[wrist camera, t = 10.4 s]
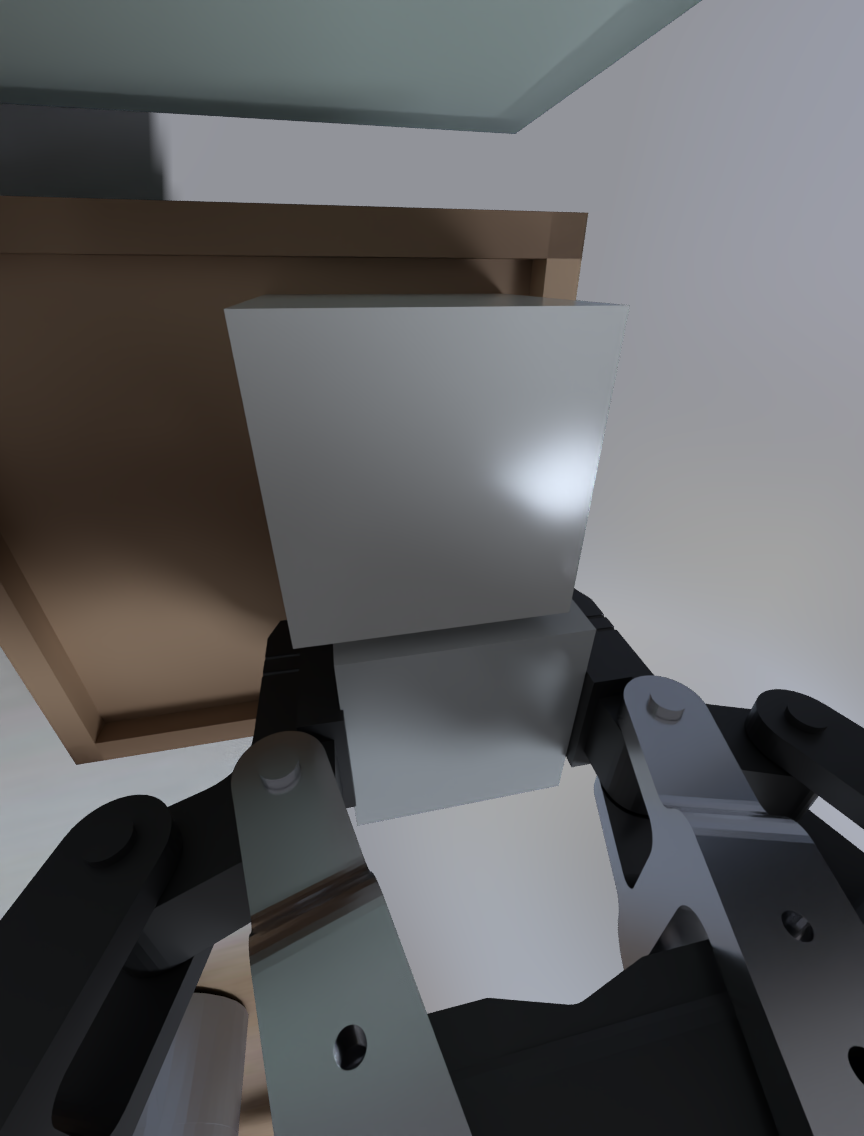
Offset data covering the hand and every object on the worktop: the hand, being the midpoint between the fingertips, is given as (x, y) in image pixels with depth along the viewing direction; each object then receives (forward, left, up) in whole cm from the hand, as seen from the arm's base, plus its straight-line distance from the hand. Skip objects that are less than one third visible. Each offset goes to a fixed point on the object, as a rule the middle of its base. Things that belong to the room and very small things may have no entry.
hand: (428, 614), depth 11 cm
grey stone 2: (0, 0, -1) cm, 1 cm away
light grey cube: (+4, +1, -1) cm, 4 cm away
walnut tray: (+2, +3, -1) cm, 4 cm away
